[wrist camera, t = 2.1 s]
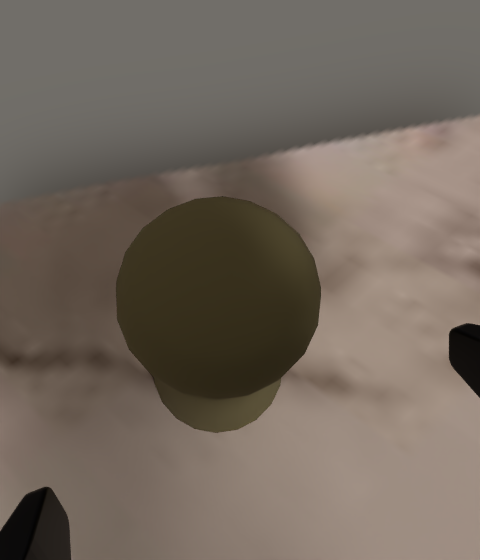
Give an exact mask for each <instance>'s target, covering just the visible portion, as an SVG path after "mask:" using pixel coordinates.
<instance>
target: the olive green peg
mask: <svg viewBox="0 0 480 560" xmlns="http://www.w3.org/2000/svg"><path fill="white" fill-rule="evenodd" d="M116 298H117V320H118V323H119V325H120V328H121V330H122V333H123V335H124V338H125V340H126V343H127V345H128V348H129V350H130V351H131V352H132V353H133V354H134V356H135V357H136V358H137V359H138V360H139V361H140V362H141V364H142V365H143V366H144V367H145V368H146V369H147V370H148V371H149V373H150V374H151V375H152V376H153V377H154V383H155V385H156V388H157V390H158V393H159V395H160V398H161V400H162V402H163V404H164V405H165V406H166V407H167V408H168V409H169V410H170V412H171V413H172V414H173V415H174V416H175V417H176V418H177V419H179V420H180V421H182V422H184V423H186V424H187V425H189V426H191V427H193V428H194V429H199V430H204V431H209V432H215V433H218V432H224V431H231V430H237V429H239V428H241V427H243V426H245V425H247V424H249V423H251V422H253V421H255V420H257V418H258V417H259V416H260V415H261V414H262V413H263V412H264V411H265V410H266V409H267V408H268V407H269V406H270V405H271V404H272V401H273V399H274V397H275V395H276V393H277V391H278V389H279V387H280V383H281V377H282V376H283V375H284V374H285V373H286V372H287V371H288V370H289V369H290V368H291V367H292V366H293V365H294V364H295V363H296V362H297V361H298V360H299V359H300V358H301V357H302V356H303V355H304V354H305V352H306V350H307V347H308V345H309V343H310V341H311V339H312V337H313V335H314V333H315V330H316V328H317V326H318V319H319V309H320V300H321V286H320V282H319V277H318V273H317V269H316V265H315V260H314V258H313V256H312V254H311V253H310V251H309V250H308V248H307V246H306V245H305V243H304V241H303V240H302V238H301V236H300V235H299V234H298V233H297V232H296V231H295V230H294V229H293V228H292V227H291V226H289V225H288V224H287V223H286V222H285V221H284V220H283V219H282V218H280V217H279V216H278V215H277V214H275V213H273V212H271V211H269V210H267V209H265V208H263V207H261V206H259V205H257V204H254V203H252V202H250V201H246V200H240V199H234V198H229V197H223V196H222V197H211V198H200V199H194V200H191V201H189V202H186V203H184V204H181V205H178V206H176V207H173V208H170V209H168V210H167V211H165V212H164V213H162V214H161V215H160V216H158V217H157V218H156V219H155V220H153V221H152V222H151V223H149V224H148V225H147V226H145V227H144V228H143V229H142V230H141V232H140V233H139V234H138V236H137V237H136V238H135V240H134V241H133V243H132V244H131V245H130V247H129V248H128V250H127V251H126V252H125V256H124V259H123V262H122V265H121V268H120V272H119V275H118V278H117V283H116Z"/></svg>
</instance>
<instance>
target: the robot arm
mask: <svg viewBox="0 0 480 560" xmlns="http://www.w3.org/2000/svg"><path fill="white" fill-rule="evenodd" d="M449 360H450V363H451V365H452V367H453V368H454V369H455V371H456V372H457V373H458V374H459V375H460V376H461V377H462V378H463V380H464V381H465V382H466V383H467V384H468V385H469V386H470V387H471V389H472V390H473V391H474V392H475V393H476V394H477V395H478V396H479V398H480V325H475V324H470V323H466V324H463V325H460V326H457V327H455V328H453V329H451V331H450V333H449ZM0 560H71V549H70V530H69V520H68V516H67V514H66V512H65V510H64V508H63V507H62V505H61V503H60V502H59V500H58V498H57V497H56V495H55V493H54V492H53V490H52V489H51V488H50V487H43V488H40V489H38V490H35V491H32V492H30V493H28V494H26V495H25V496H24V497H23V499H22V500H21V502H20V503H19V504H18V506H17V507H16V509H15V510H14V512H13V513H12V515H11V516H10V518H9V519H8V520H7V522H6V523H5V525H4V526H3V528H2V529H1V531H0Z"/></svg>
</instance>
